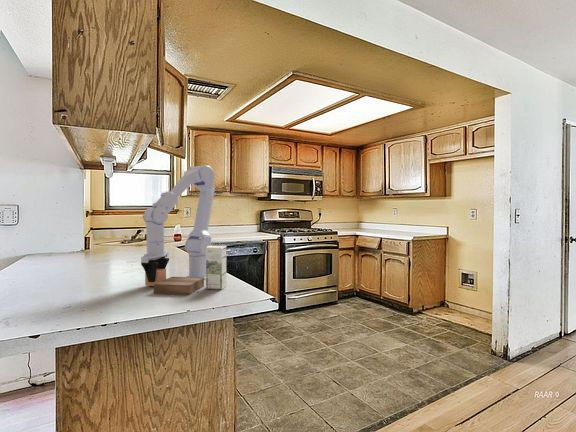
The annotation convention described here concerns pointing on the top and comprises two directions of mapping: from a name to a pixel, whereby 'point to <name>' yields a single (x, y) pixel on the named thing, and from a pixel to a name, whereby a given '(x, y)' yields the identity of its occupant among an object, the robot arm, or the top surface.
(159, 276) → the cube
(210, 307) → the top surface
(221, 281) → the syrup box
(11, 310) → the top surface
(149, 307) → the top surface
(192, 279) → the walnut base
